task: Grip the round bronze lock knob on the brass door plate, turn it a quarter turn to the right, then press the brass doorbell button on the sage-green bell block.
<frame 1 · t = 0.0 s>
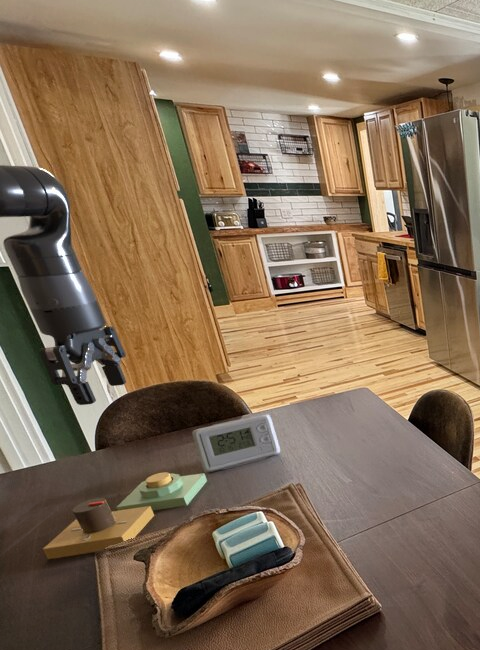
hand: (103, 393, 82), 31 cm above the table, tool pointing down, fingers open, 8 cm apart
digital clock: (244, 461, 121), on the table
bell block: (166, 497, 106), on the table
lock turn: (94, 514, 92), point 5 cm above the table, hinge at 0.0°
bell button: (159, 480, 105), point 4 cm above the table, slide at 0.1 cm
lock plate: (104, 536, 94), on the table
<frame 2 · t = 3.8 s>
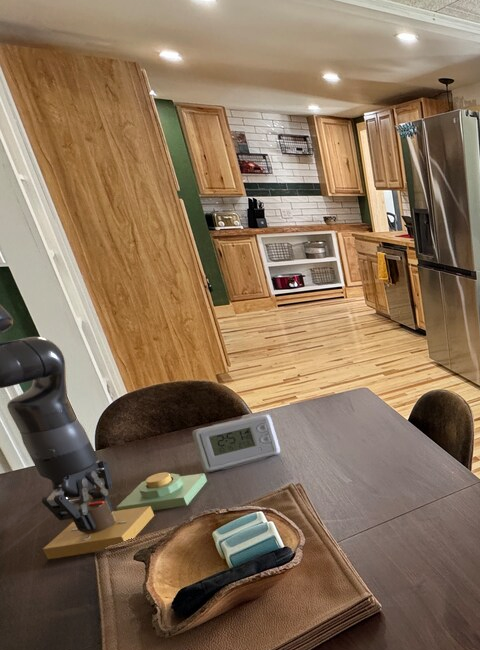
hand: (97, 521, 93), 4 cm above the table, tool pointing down, fingers closed on lock turn, 4 cm apart
lock turn: (94, 514, 92), point 5 cm above the table, hinge at 0.3°, touching gripper
everything else where it was.
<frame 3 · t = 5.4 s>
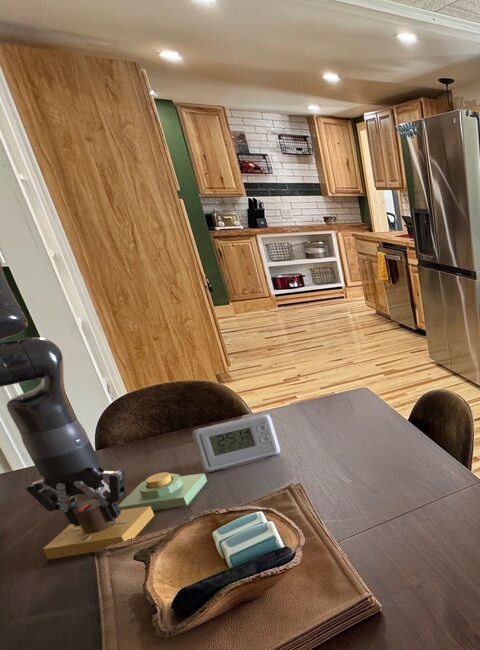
hand: (97, 520, 93), 4 cm above the table, tool pointing down, fingers closed on lock turn, 4 cm apart
lock turn: (94, 514, 92), point 5 cm above the table, hinge at -93.6°, touching gripper
everything else where it was.
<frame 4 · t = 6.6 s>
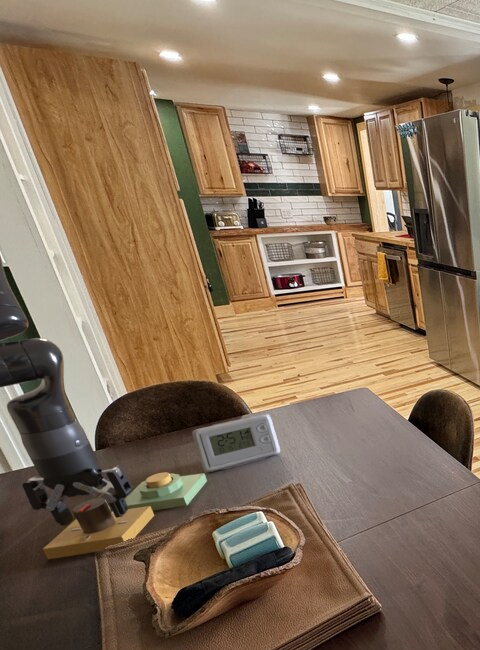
hand: (95, 518, 93), 4 cm above the table, tool pointing down, fingers open, 8 cm apart
lock turn: (94, 514, 92), point 5 cm above the table, hinge at -92.6°
everything else where it was.
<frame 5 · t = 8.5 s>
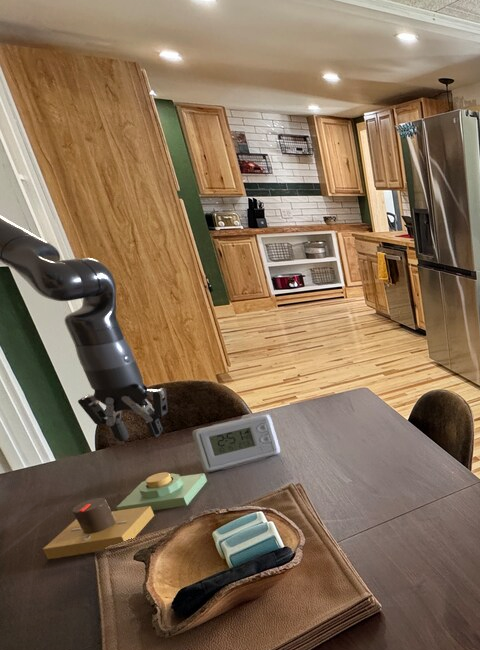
hand: (140, 437, 100), 15 cm above the table, tool pointing down, fingers open, 5 cm apart
nothing on the table moved.
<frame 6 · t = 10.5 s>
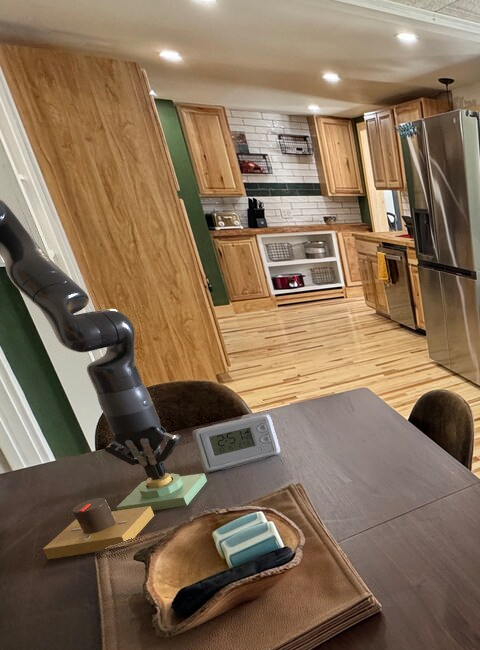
hand: (158, 477, 105), 5 cm above the table, tool pointing down, fingers closed
bell button: (159, 481, 105), point 4 cm above the table, slide at -0.1 cm, touching gripper
everything else where it was.
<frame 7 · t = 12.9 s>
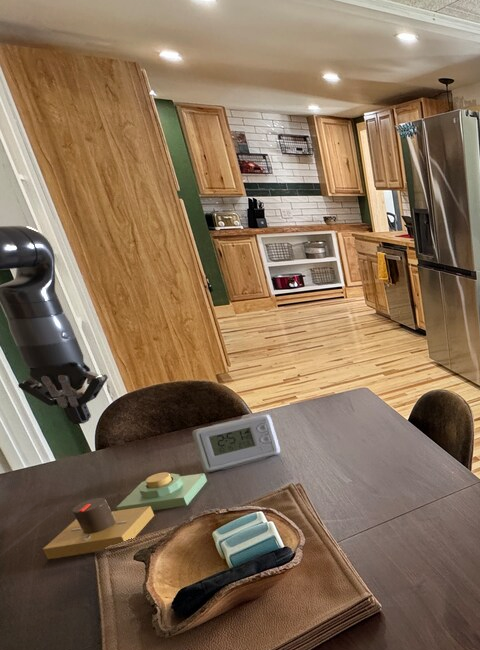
hand: (81, 422, 95), 21 cm above the table, tool pointing down, fingers closed
bell button: (159, 480, 105), point 4 cm above the table, slide at 0.1 cm
everything else where it was.
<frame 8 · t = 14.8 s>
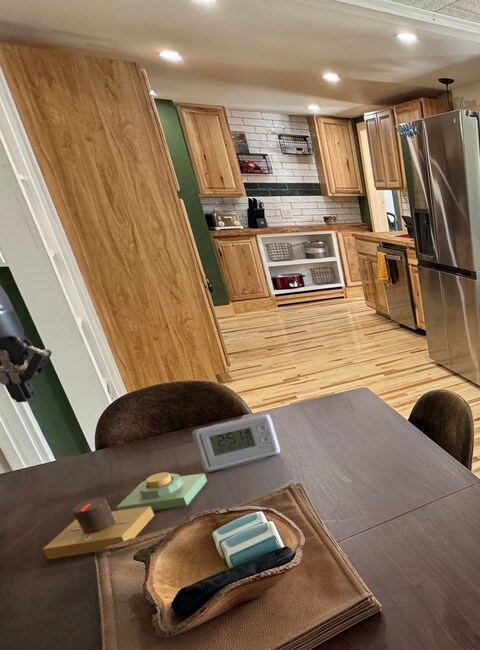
hand: (26, 400, 90), 27 cm above the table, tool pointing down, fingers closed
nothing on the table moved.
at the end: lock turn at -93° (first picture: +0°); bell button pushed in 1.1 cm at the most during the clip, back to where it started at the end; bell button slide at 0.1 cm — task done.
